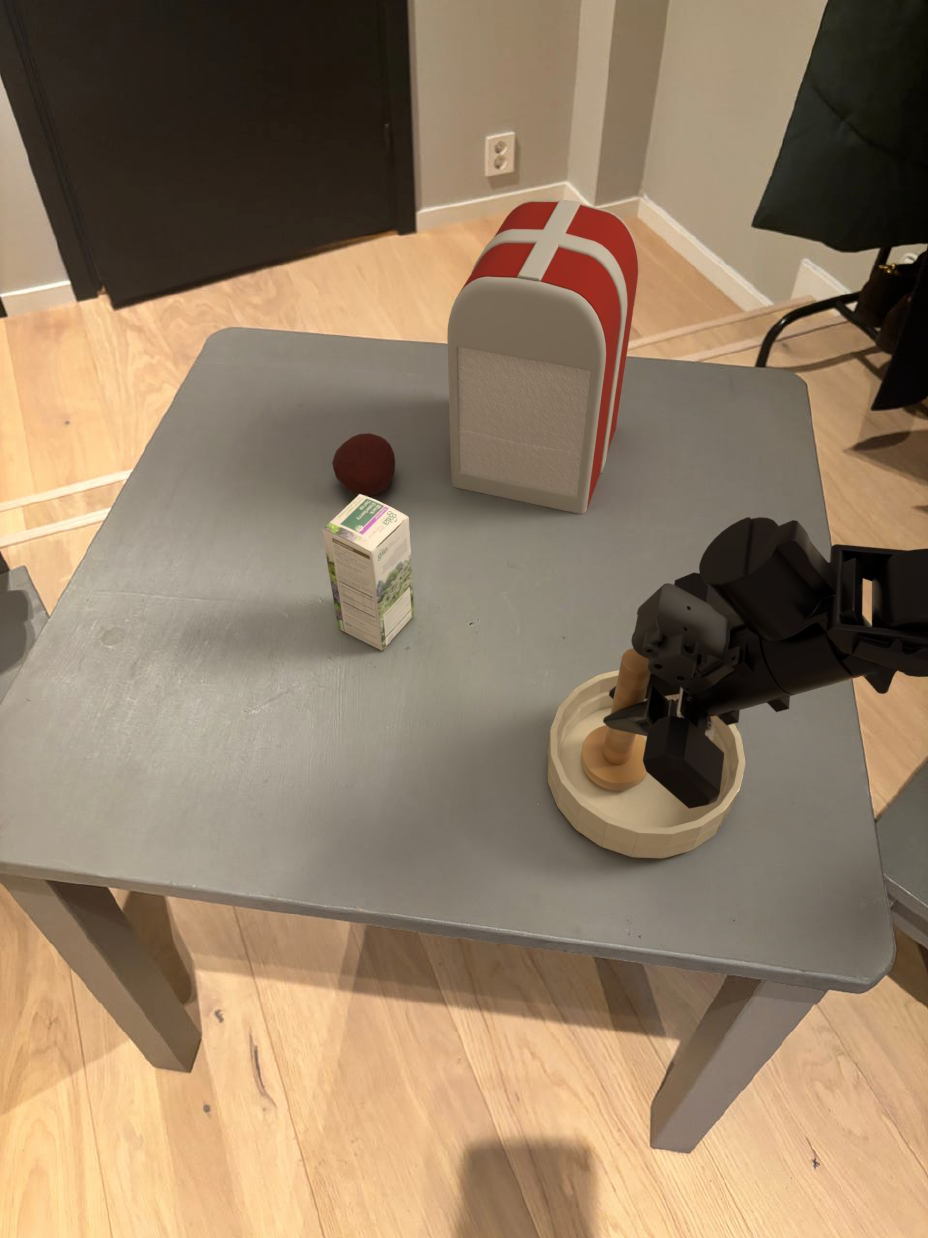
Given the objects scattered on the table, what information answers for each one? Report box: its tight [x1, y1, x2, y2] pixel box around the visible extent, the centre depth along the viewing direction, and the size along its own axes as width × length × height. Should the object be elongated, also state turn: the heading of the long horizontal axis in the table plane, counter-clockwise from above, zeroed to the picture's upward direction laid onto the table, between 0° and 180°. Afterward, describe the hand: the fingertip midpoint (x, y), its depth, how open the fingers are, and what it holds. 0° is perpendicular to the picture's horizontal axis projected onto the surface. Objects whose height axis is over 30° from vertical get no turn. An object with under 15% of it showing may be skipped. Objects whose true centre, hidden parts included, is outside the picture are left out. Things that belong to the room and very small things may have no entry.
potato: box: [331, 432, 396, 497], centre depth 103 cm, size 7×8×6 cm
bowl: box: [546, 669, 747, 859], centre depth 78 cm, size 16×16×5 cm
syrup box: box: [321, 494, 415, 652], centre depth 86 cm, size 6×6×14 cm
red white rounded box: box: [446, 198, 640, 515], centre depth 98 cm, size 17×18×27 cm
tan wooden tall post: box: [581, 647, 651, 790], centre depth 74 cm, size 6×6×15 cm
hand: (609, 709), depth 74 cm, fingers closed on tan wooden tall post, 2 cm apart
